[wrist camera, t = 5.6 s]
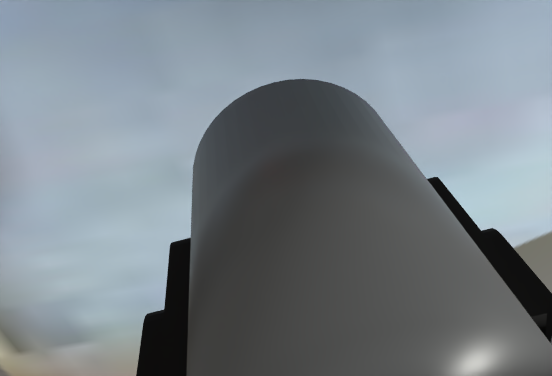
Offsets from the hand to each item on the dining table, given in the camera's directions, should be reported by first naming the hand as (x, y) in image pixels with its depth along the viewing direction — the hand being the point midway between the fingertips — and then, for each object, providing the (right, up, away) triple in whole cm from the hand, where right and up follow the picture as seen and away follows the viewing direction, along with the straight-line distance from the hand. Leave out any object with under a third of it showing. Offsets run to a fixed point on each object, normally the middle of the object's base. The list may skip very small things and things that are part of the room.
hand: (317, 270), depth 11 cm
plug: (0, 0, 0) cm, 1 cm away
